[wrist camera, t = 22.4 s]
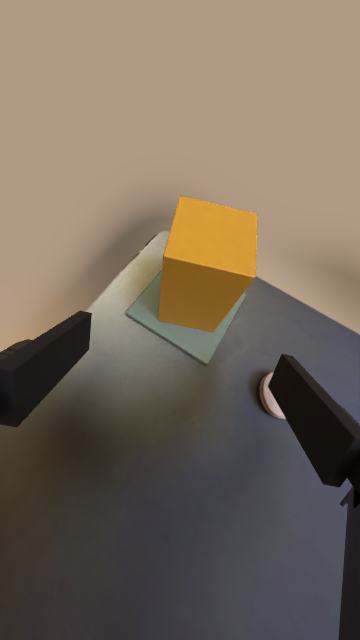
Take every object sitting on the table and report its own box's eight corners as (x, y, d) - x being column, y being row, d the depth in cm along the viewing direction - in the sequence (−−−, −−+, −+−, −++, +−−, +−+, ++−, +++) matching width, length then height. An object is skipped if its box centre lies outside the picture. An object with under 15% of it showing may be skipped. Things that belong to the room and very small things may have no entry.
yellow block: (213, 333, 22) (256, 277, 13) (158, 320, 22) (163, 256, 13) (218, 286, 25) (258, 213, 16) (169, 275, 25) (180, 194, 16)
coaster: (205, 366, 21) (207, 364, 21) (126, 315, 23) (125, 312, 22) (243, 297, 26) (246, 293, 25) (174, 257, 27) (175, 253, 26)
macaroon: (252, 373, 22) (264, 368, 20) (297, 374, 22) (313, 369, 20) (258, 419, 20) (272, 419, 18) (307, 418, 21) (326, 419, 18)
